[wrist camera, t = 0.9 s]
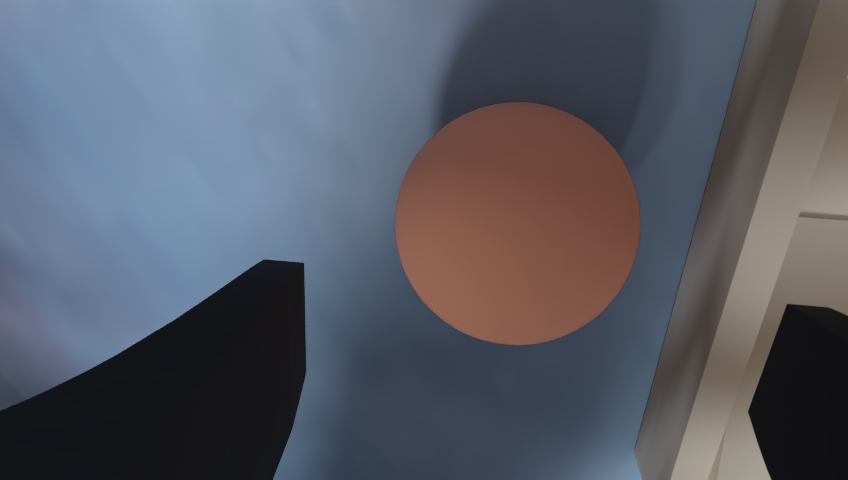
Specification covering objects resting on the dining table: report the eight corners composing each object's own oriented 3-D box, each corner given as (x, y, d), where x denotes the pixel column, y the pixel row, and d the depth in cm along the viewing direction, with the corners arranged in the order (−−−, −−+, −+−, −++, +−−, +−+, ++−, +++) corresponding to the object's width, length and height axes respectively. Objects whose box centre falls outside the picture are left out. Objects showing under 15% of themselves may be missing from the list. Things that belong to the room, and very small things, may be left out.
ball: (593, 278, 17) (637, 408, 13) (400, 261, 18) (377, 385, 13) (633, 85, 15) (702, 162, 11) (411, 68, 15) (388, 136, 11)
